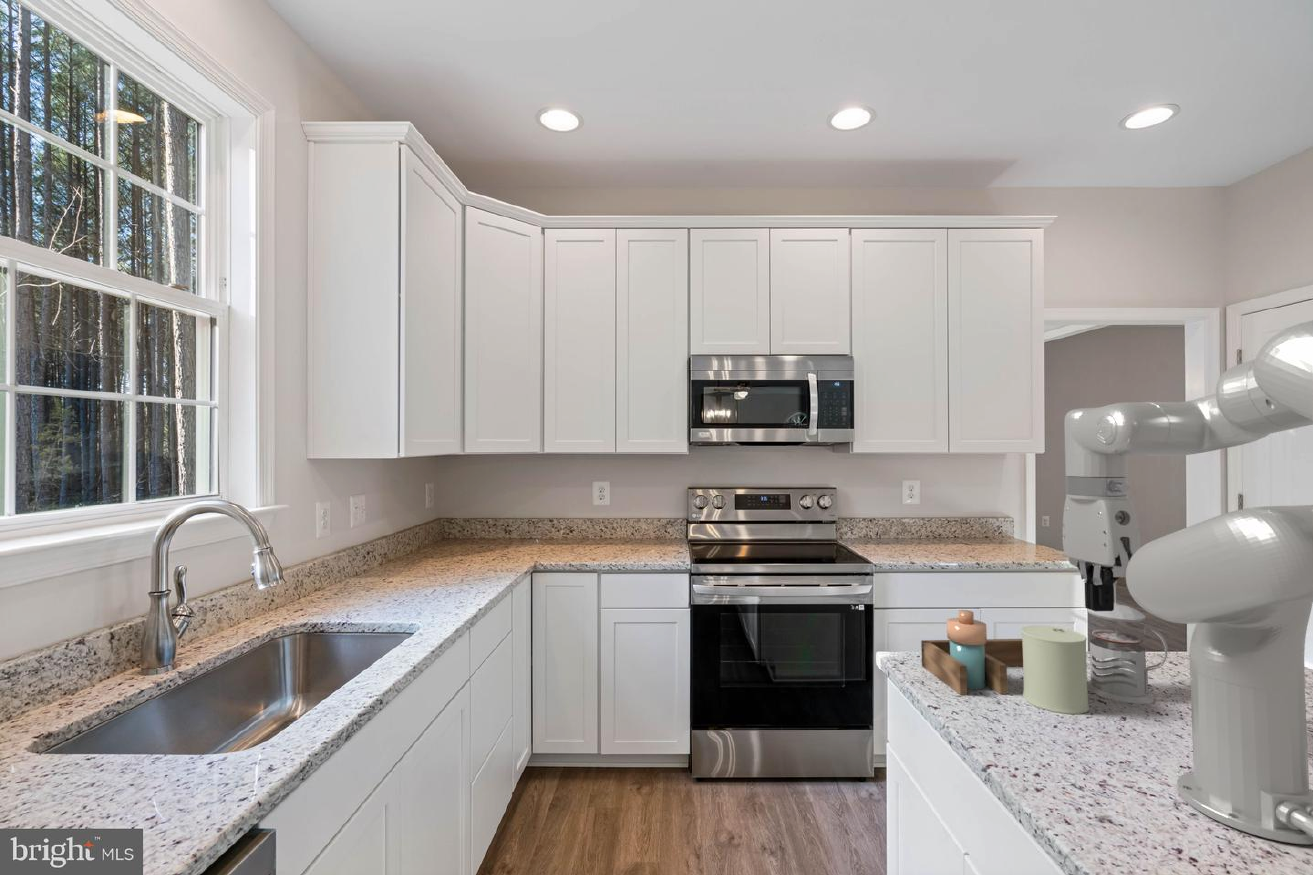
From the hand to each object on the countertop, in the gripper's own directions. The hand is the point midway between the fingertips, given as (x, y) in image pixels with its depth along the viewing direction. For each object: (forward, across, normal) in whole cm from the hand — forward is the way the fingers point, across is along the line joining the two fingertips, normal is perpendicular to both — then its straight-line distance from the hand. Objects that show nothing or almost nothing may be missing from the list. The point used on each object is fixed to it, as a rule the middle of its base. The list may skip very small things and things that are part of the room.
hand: (1099, 609), depth 88 cm
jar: (+18, +19, +10) cm, 28 cm away
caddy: (+18, +21, +4) cm, 28 cm away
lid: (+10, +19, +10) cm, 24 cm away
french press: (+18, +13, -14) cm, 27 cm away
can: (+18, +10, 0) cm, 21 cm away
